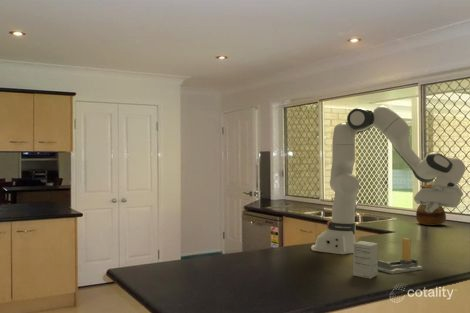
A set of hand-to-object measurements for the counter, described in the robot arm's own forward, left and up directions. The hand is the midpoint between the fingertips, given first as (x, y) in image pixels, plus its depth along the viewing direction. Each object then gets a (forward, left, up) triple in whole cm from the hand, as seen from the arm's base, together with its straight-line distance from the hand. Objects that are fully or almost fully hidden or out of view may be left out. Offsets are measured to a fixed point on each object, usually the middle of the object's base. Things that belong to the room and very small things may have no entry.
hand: (428, 211), depth 188 cm
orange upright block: (-9, -9, -22) cm, 26 cm away
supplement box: (-26, -29, -24) cm, 45 cm away
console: (-13, -13, -23) cm, 30 cm away
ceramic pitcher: (+20, +140, -24) cm, 144 cm away
